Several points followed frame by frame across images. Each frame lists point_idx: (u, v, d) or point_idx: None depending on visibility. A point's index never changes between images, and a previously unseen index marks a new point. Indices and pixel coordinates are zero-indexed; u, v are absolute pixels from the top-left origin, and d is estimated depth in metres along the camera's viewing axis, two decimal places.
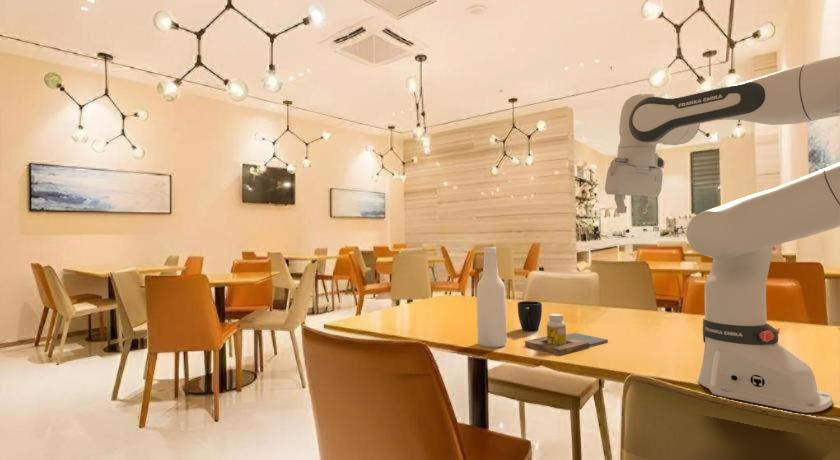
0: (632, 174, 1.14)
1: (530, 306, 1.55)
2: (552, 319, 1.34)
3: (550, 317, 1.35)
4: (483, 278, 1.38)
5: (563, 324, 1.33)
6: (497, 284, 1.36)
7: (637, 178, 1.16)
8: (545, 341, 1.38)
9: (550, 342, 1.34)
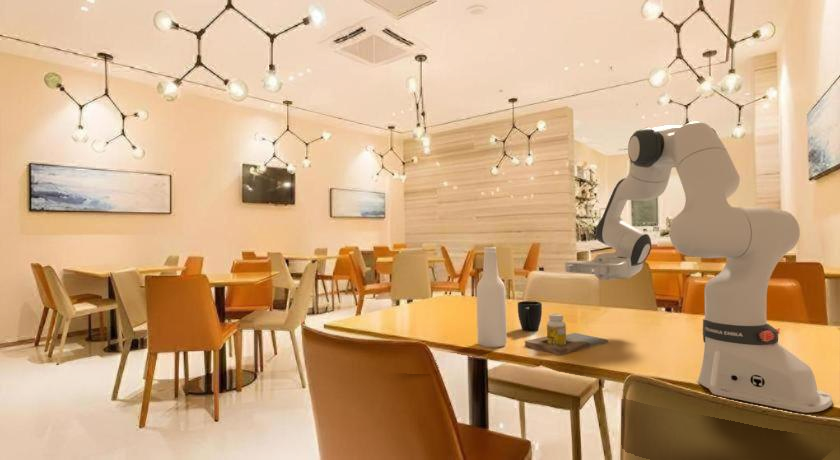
0: (589, 262, 1.51)
1: (530, 306, 1.55)
2: (552, 319, 1.34)
3: (550, 317, 1.35)
4: (483, 278, 1.38)
5: (563, 324, 1.33)
6: (497, 284, 1.36)
7: None
8: (545, 341, 1.38)
9: (550, 342, 1.34)
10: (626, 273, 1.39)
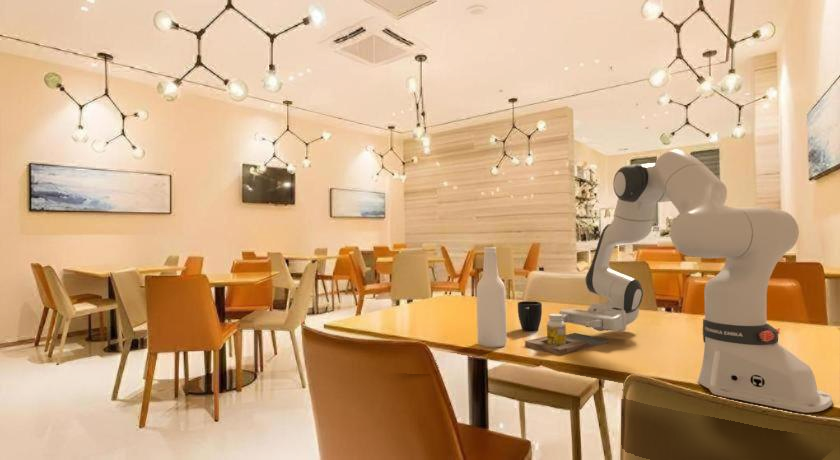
0: (584, 311, 1.48)
1: (530, 306, 1.55)
2: (552, 319, 1.34)
3: (550, 317, 1.35)
4: (483, 278, 1.38)
5: (563, 324, 1.33)
6: (497, 284, 1.36)
7: None
8: (545, 341, 1.38)
9: (550, 342, 1.34)
10: (621, 327, 1.37)
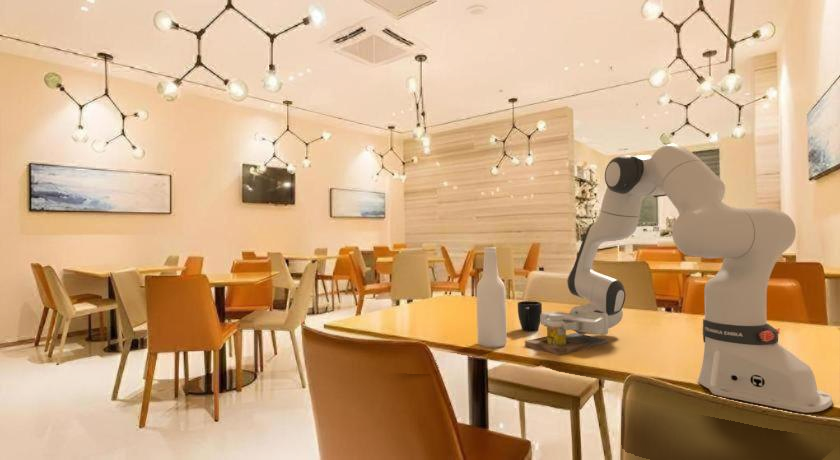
0: (565, 314, 1.43)
1: (530, 306, 1.55)
2: (552, 319, 1.34)
3: (550, 317, 1.35)
4: (483, 278, 1.38)
5: None
6: (497, 284, 1.36)
7: (570, 316, 1.41)
8: (545, 341, 1.38)
9: (550, 342, 1.34)
10: (602, 330, 1.32)
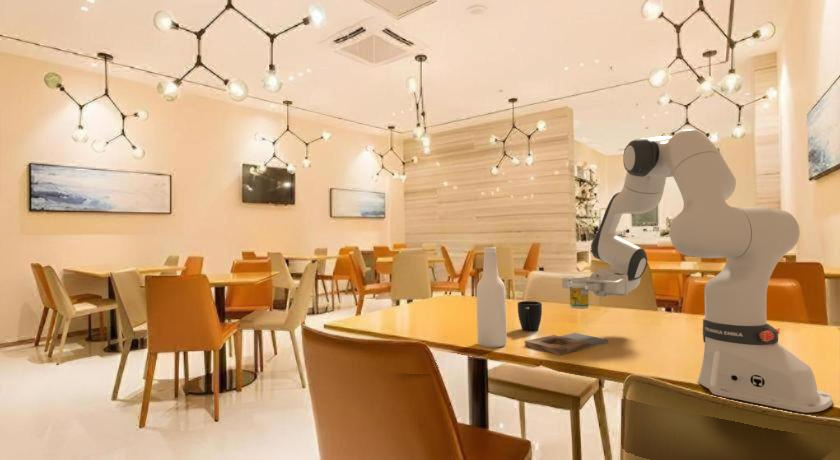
0: (586, 278, 1.50)
1: (530, 306, 1.55)
2: (575, 281, 1.41)
3: (573, 279, 1.41)
4: (483, 278, 1.38)
5: None
6: (497, 284, 1.36)
7: (591, 279, 1.47)
8: (545, 341, 1.38)
9: (573, 303, 1.40)
10: (623, 290, 1.39)
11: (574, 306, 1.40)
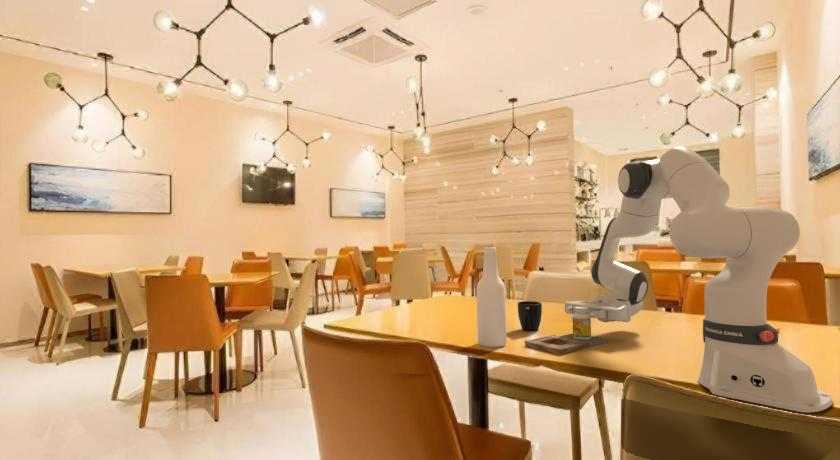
0: (589, 303, 1.50)
1: (530, 306, 1.55)
2: (578, 311, 1.41)
3: (576, 310, 1.41)
4: (483, 278, 1.38)
5: (588, 316, 1.40)
6: (497, 284, 1.36)
7: (593, 304, 1.47)
8: (545, 341, 1.38)
9: (576, 334, 1.41)
10: (626, 317, 1.39)
11: (577, 337, 1.40)
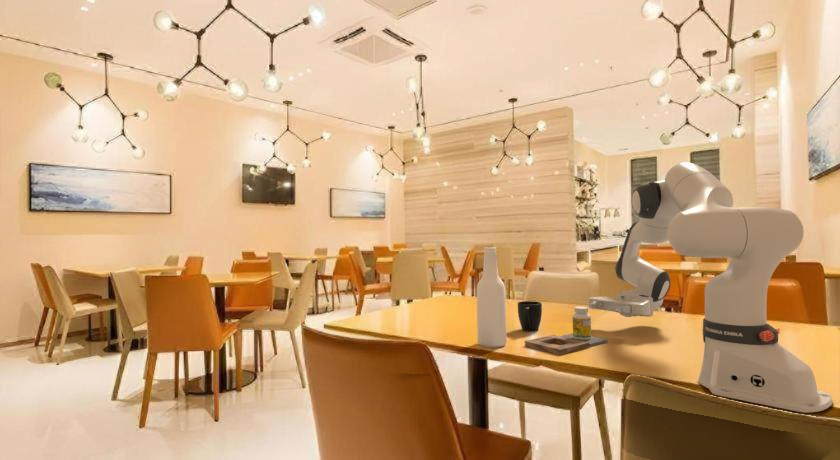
0: (612, 299, 1.57)
1: (530, 306, 1.55)
2: (578, 311, 1.41)
3: (576, 310, 1.41)
4: (483, 278, 1.38)
5: (588, 316, 1.40)
6: (497, 284, 1.36)
7: (617, 300, 1.55)
8: (545, 341, 1.38)
9: (576, 334, 1.41)
10: (649, 312, 1.46)
11: (577, 337, 1.40)
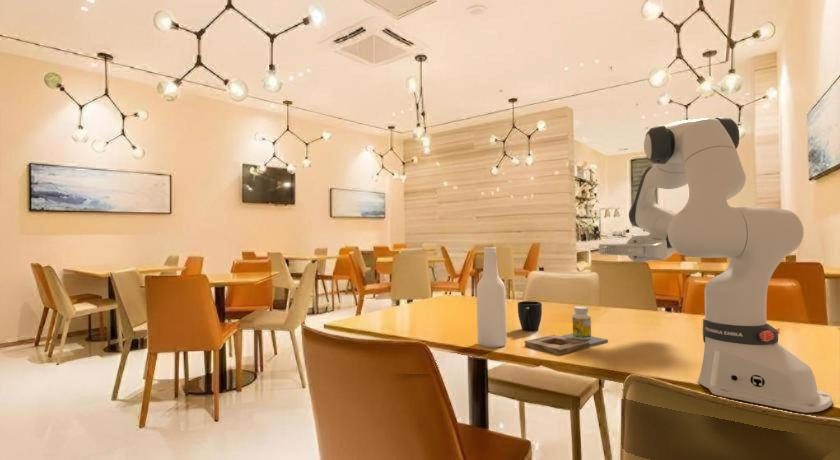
0: None
1: (530, 306, 1.55)
2: (578, 311, 1.41)
3: (576, 310, 1.41)
4: (483, 278, 1.38)
5: (588, 316, 1.40)
6: (497, 284, 1.36)
7: None
8: (545, 341, 1.38)
9: (576, 334, 1.41)
10: (663, 254, 1.40)
11: (577, 337, 1.40)
